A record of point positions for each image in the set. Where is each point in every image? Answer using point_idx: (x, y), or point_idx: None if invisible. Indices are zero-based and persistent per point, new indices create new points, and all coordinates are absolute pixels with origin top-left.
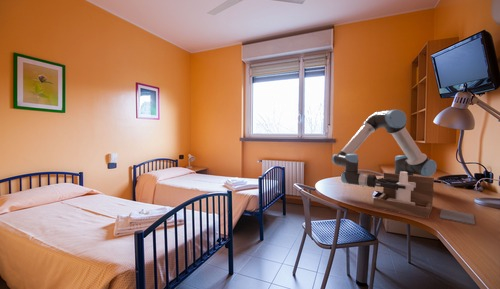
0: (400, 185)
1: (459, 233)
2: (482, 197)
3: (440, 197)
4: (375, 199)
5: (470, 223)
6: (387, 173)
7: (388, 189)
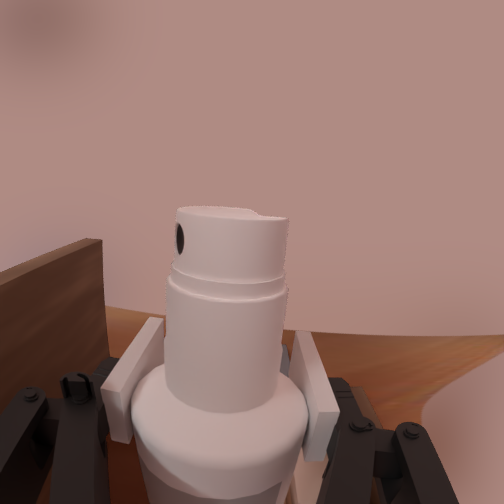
0: (344, 408)
1: (396, 367)
2: None
3: None
4: None
5: (286, 350)
6: None
7: None
